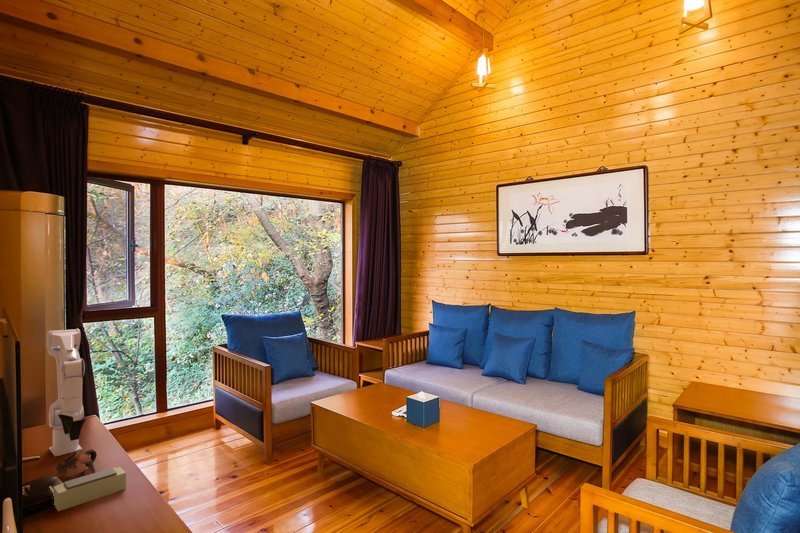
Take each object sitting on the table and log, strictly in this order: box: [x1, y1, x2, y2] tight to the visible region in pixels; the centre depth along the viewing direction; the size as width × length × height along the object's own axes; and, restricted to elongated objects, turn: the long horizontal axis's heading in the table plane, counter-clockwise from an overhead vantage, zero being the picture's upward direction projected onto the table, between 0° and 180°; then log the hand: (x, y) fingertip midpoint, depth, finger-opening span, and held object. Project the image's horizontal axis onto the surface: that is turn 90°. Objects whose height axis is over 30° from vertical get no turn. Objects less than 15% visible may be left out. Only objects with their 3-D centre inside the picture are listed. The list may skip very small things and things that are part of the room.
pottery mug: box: [55, 448, 98, 476], centre depth 144 cm, size 12×10×8 cm
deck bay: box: [48, 466, 127, 512], centre depth 133 cm, size 11×17×6 cm, turn 139°
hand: (71, 436), depth 150 cm, fingers open, 7 cm apart
